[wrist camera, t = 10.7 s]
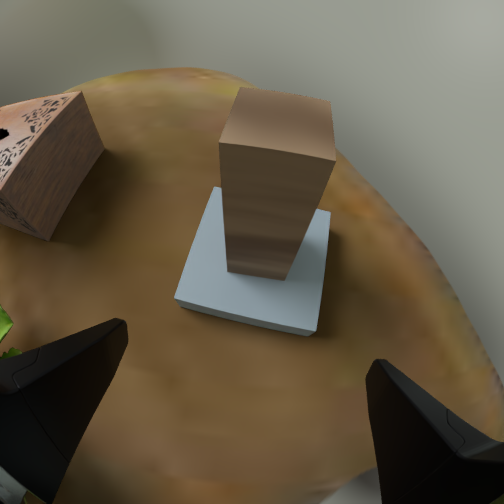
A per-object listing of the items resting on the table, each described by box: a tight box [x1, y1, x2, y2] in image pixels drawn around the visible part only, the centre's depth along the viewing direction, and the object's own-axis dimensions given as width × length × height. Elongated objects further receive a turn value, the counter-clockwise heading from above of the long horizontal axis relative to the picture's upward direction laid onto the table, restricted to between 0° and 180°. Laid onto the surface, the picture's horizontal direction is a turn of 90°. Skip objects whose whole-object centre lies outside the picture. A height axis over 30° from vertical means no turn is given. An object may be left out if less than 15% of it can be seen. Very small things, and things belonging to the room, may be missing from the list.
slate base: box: [174, 187, 330, 336], centre depth 24 cm, size 11×11×2 cm
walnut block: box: [219, 87, 336, 281], centre depth 17 cm, size 4×4×13 cm
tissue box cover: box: [0, 91, 105, 241], centre depth 24 cm, size 26×14×10 cm, turn 77°
